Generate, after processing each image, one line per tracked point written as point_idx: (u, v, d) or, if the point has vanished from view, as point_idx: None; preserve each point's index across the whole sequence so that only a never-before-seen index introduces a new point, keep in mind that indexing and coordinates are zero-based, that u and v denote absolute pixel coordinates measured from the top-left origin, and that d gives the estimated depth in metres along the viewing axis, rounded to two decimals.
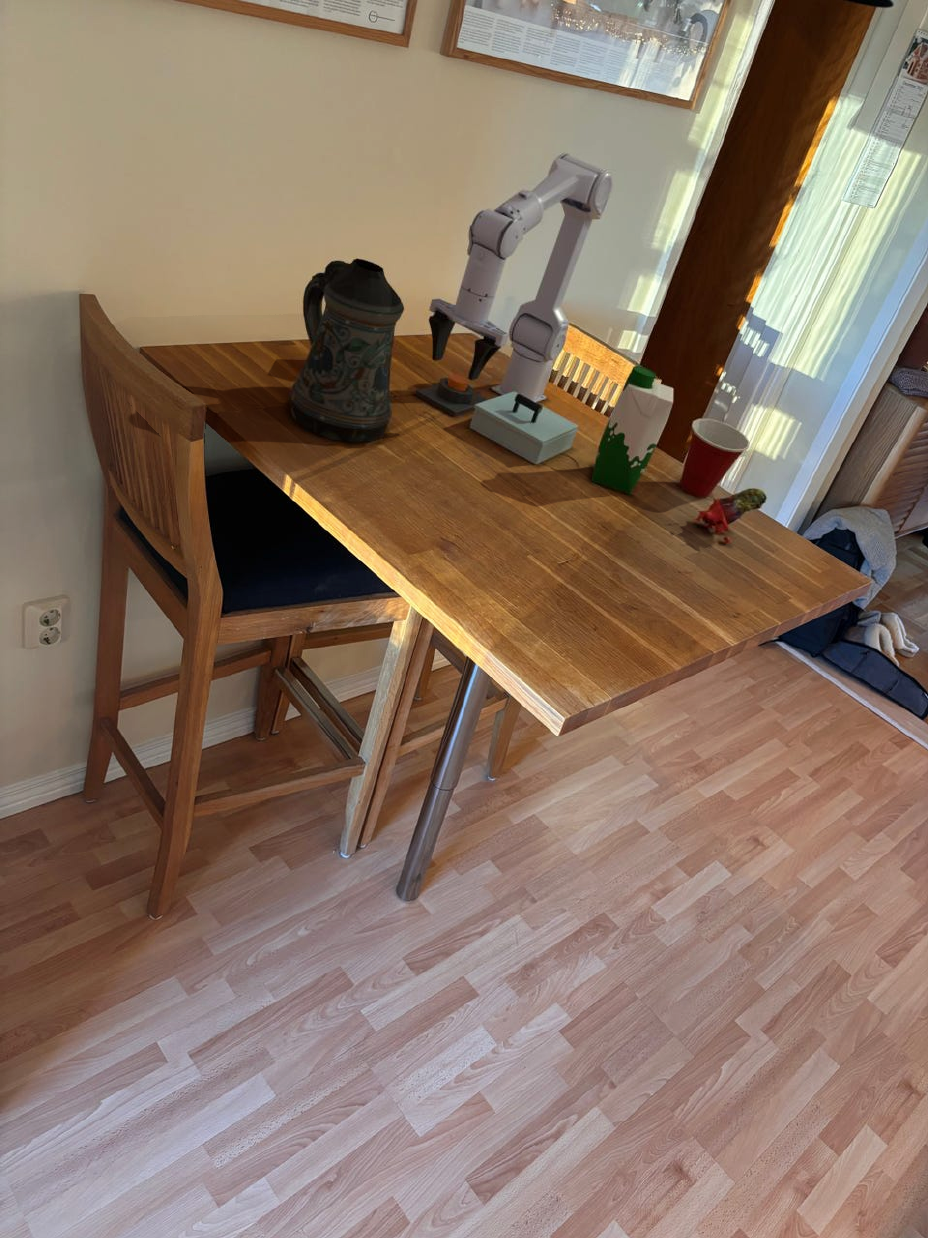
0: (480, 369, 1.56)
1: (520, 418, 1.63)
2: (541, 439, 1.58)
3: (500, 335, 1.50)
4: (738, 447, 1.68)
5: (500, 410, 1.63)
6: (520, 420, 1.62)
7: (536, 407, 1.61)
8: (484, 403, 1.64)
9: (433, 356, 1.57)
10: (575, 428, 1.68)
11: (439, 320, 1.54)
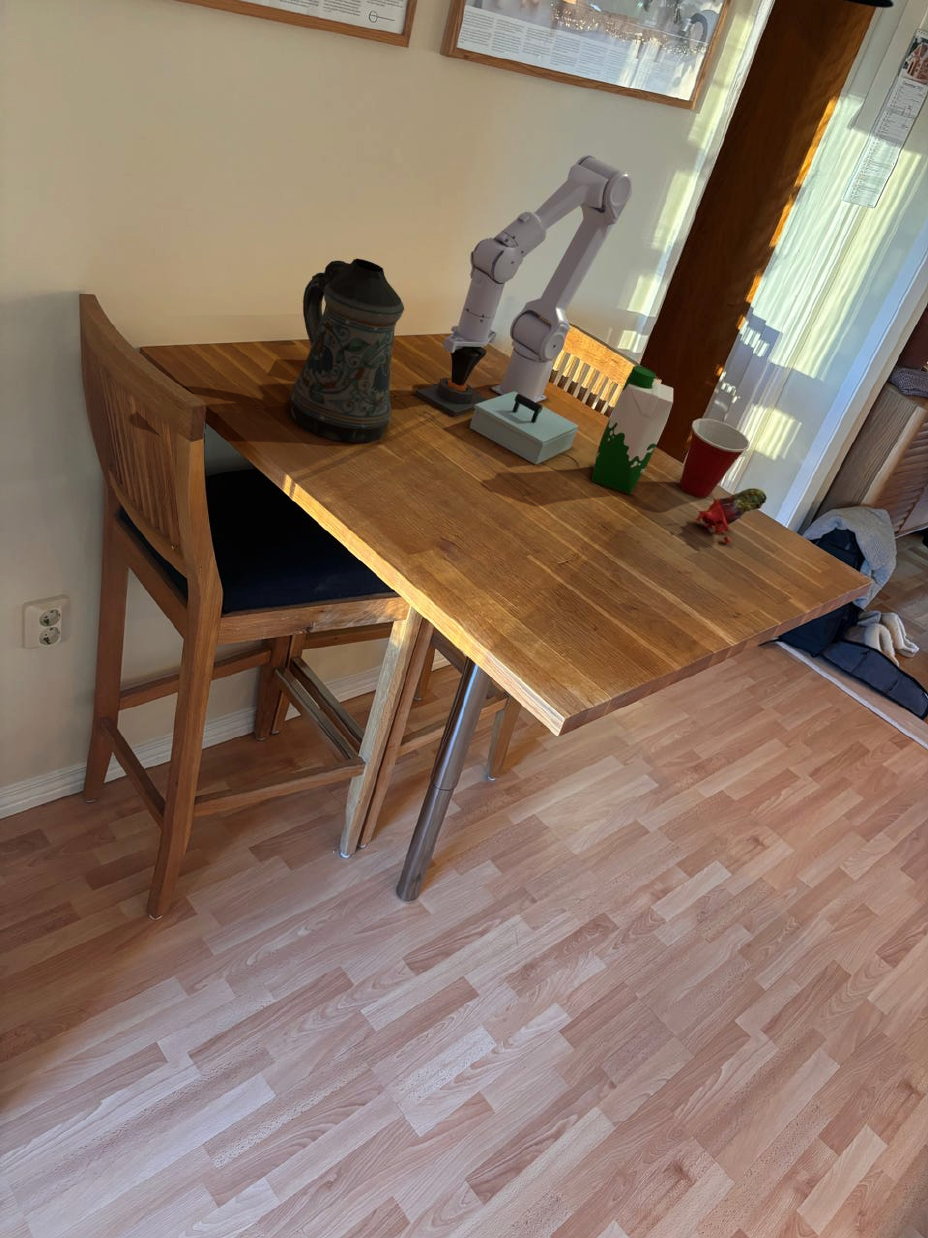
0: (460, 376, 1.69)
1: (520, 418, 1.63)
2: (541, 439, 1.58)
3: None
4: (738, 447, 1.68)
5: (500, 410, 1.63)
6: (520, 420, 1.62)
7: (536, 407, 1.61)
8: (484, 403, 1.64)
9: None
10: (575, 428, 1.68)
11: None
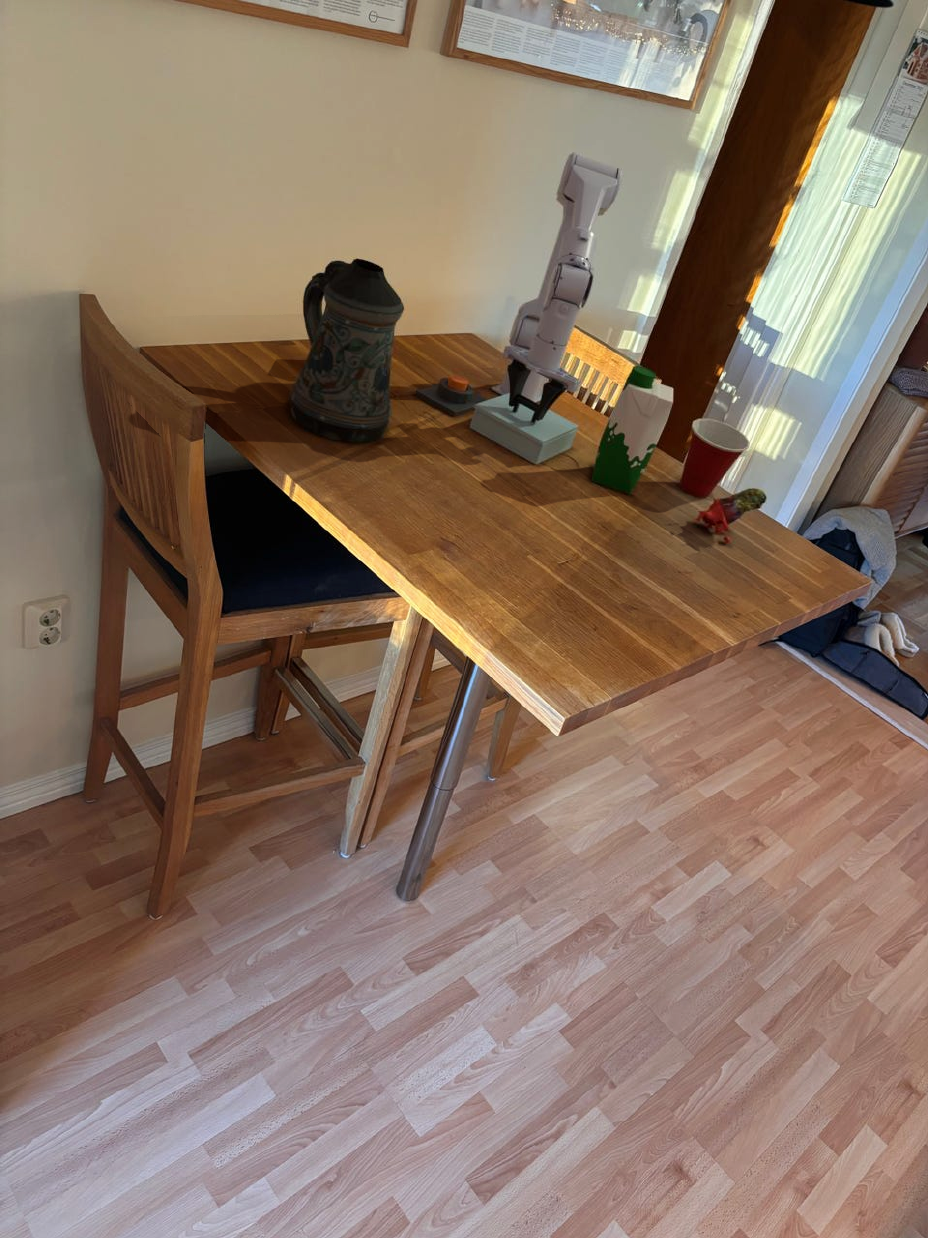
0: (546, 410, 1.62)
1: (520, 418, 1.63)
2: (541, 439, 1.58)
3: (573, 382, 1.56)
4: (738, 447, 1.68)
5: (500, 410, 1.63)
6: (520, 420, 1.62)
7: (536, 407, 1.61)
8: (484, 403, 1.64)
9: (510, 402, 1.63)
10: (575, 428, 1.68)
11: (517, 369, 1.59)
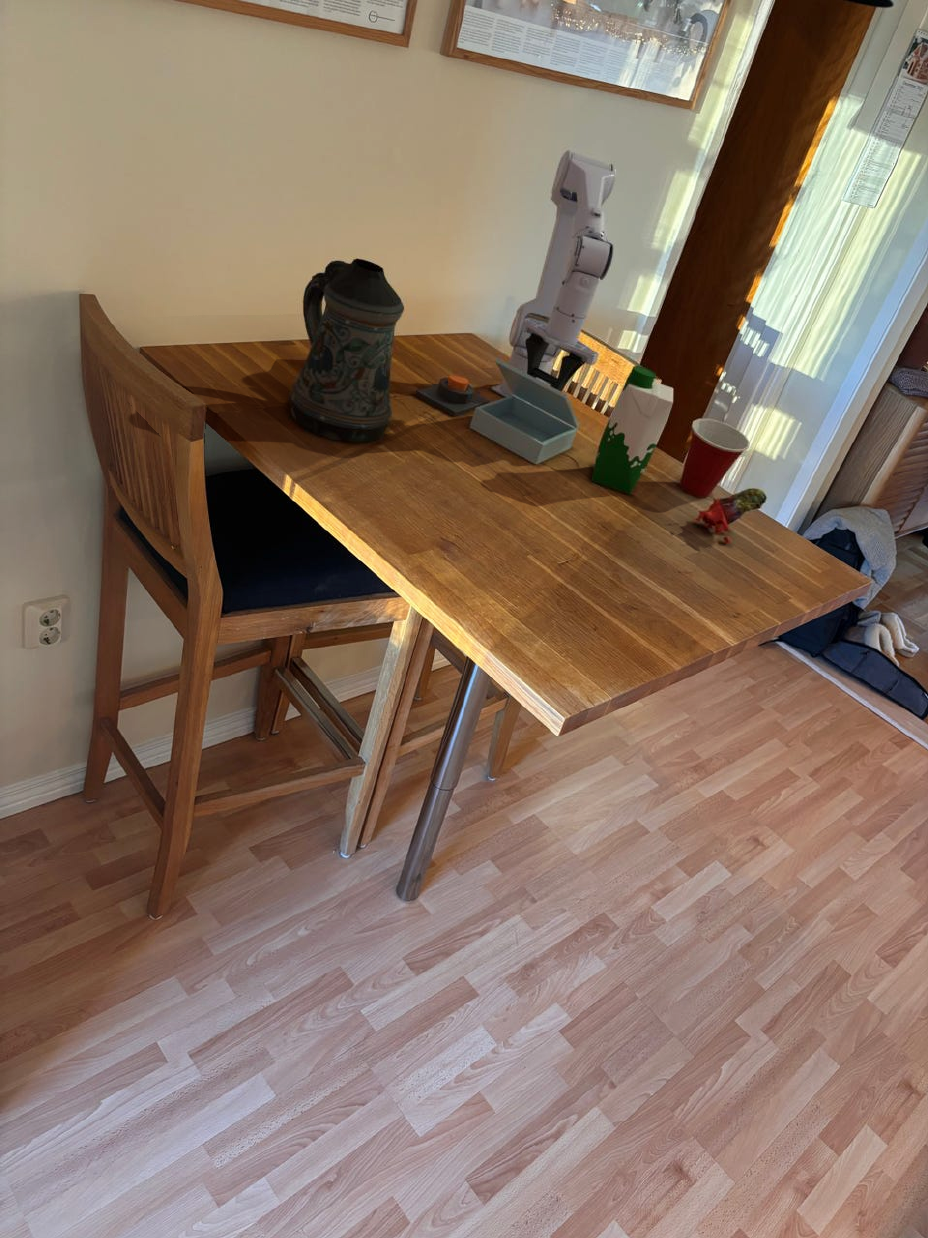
0: (564, 384, 1.63)
1: None
2: (564, 394, 1.56)
3: (591, 354, 1.56)
4: (738, 447, 1.68)
5: None
6: None
7: (555, 378, 1.62)
8: None
9: None
10: (577, 424, 1.67)
11: (535, 342, 1.60)
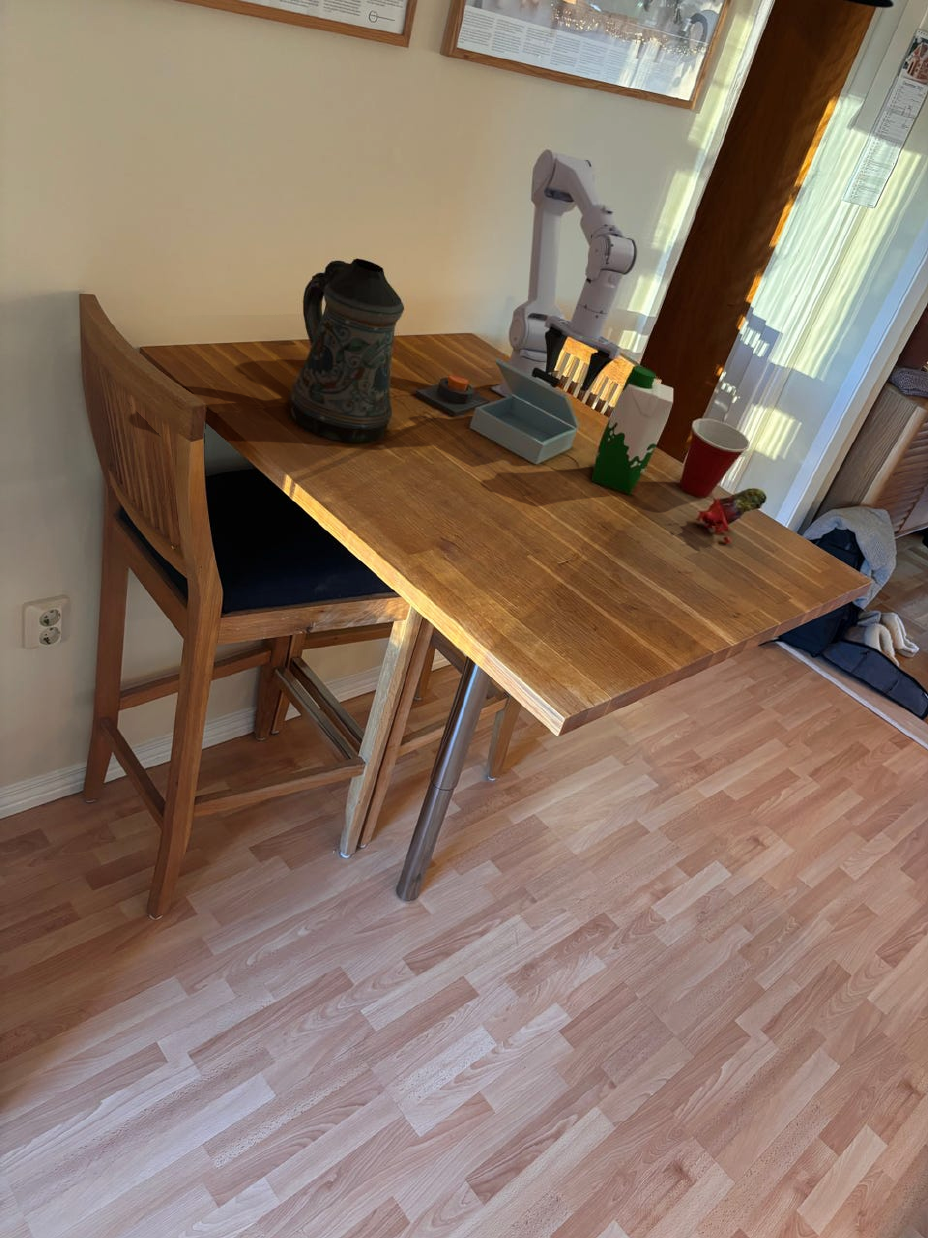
0: (592, 380, 1.66)
1: None
2: (564, 394, 1.56)
3: (614, 349, 1.60)
4: (738, 447, 1.68)
5: None
6: None
7: (555, 378, 1.62)
8: None
9: (546, 369, 1.68)
10: (577, 424, 1.67)
11: (554, 335, 1.65)
